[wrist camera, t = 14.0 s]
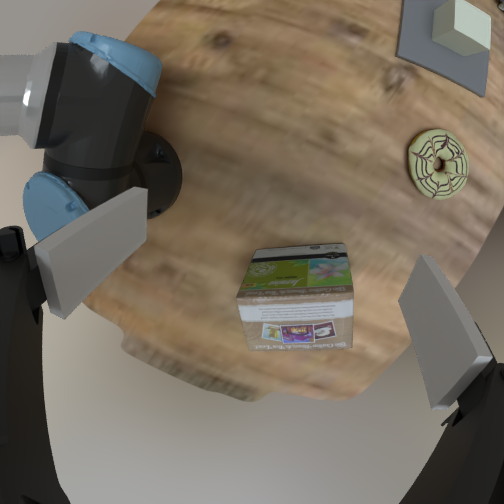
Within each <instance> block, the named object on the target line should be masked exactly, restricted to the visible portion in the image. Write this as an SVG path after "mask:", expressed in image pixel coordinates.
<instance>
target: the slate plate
mask: <svg viewBox="0 0 504 504" xmlns="http://www.w3.org/2000/svg"><path fill="white" fill-rule="evenodd" d="M447 1H448V0H403V2H402V12H401V21H400V29H399V37H398V44H397V50H396V57H398V58H401V59H403V60H406V61H408V62H411V63H413V64H416V65H418V66H420V67H423V68H425V69H427V70H430V71H432V72H434V73H436V74H438V75H440V76H442V77H444V78H446V79H448V80H450V81H452V82H454V83H456V84H458V85H460V86H462V87H464V88H466V89H467V90H469V91H471V92H473V93H474V94H476V95H478V96H480V97H485V90H486V82H487V73H488V63H489V50H488V51H484V52H480V53H476V54H472V55H468V56H462V55H460V54H458V53H457V52H455V51H453V50H451V49H449V48H447V47H445V46H443V45H441V44H439V43H437V42H435V41H433V40H432V32H433V20H434V10H435V9H437V8H438V7H440V6H441V5H442V4H444V3H445V2H447Z"/></svg>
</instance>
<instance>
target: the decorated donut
mask: <svg viewBox="0 0 504 504" xmlns="http://www.w3.org/2000/svg"><path fill="white" fill-rule="evenodd" d="M436 157H440V158H441V159H442V161H443V167H442V169H441V170H434V168H433V163H434V161H435V159H436ZM408 165H409V171H410V175H411V177H412V179H413V181H414V184H415V186H416V187H417V188H418V190H419V191H421V192H422V193H423V194H424V195H426V196H428V197H430V198H433V199H436V200H444V199H448V198H450V197H451V196H453V195H454V194H456V193H457V192H459V191H460V190H461V189H462V188H463V187H464V185H465V183H466V180H467V178H468V171H469V158H468V155H467V154H466V152H465V148H464V146H463V145H462V144H461V143H460V142H459V141H458V139H457V138H456V137H455V136H454V135H453V134H452V133H451V132H449V131H447V130H443V129H436V130H427V131H424V132H421V133H420V134H418V135H417V136H416V137H415V138H414V140H413V141H412V143H411V145H410V147H409V150H408Z"/></svg>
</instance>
